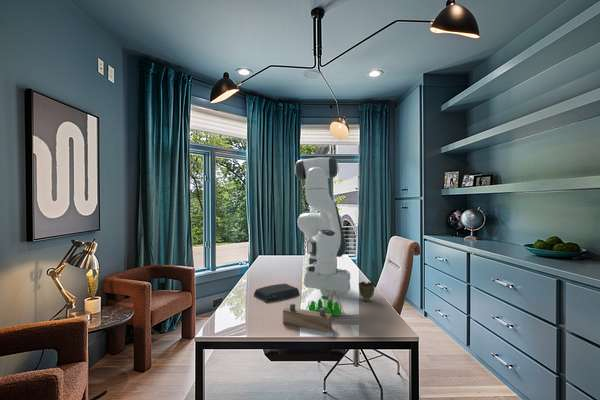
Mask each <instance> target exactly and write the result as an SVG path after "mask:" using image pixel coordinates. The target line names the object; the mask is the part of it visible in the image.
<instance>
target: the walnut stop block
mask: <svg viewBox="0 0 600 400" xmlns="http://www.w3.org/2000/svg"><path fill="white" fill-rule="evenodd" d="M325 312H326V311H325V309H324V308H321V309H320V312H315V311H309V309H307V310H306V309H304V308H303V309H302V308H297V307H296V304H295V303H289V306H287V307H285V308H284V309H283V310H282V323H283V324H285V325H289V326H295V327H300V328H305V329H308V330H309V329H310V330H315V331H319V332H325V333H329V332H330V331H331V330H332V329H333V315H332V313H331V314H327V313H325Z"/></svg>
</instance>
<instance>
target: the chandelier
mask: <svg viewBox="0 0 600 400" xmlns="http://www.w3.org/2000/svg"><path fill="white" fill-rule="evenodd" d="M323 299H324V300H323ZM325 299H327V297H326V296H322V295H321V298H319V299H318V301H317V302H316V301H314V300H310V301H309V302H308V303H307V306H306V308H305V310H309V311H315V312H320V309H321V308H324V309H325V313H327V314H332V316H333V317H334V316H335V317H336V316H337V317H339V316H341V314H342V305H341V303H339V302H337V301H336V302H334V303H333V300H332V299H330V300H327V303H326V306H324V304H325V301H326V300H325ZM339 305H340V306H339Z"/></svg>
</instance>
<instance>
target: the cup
mask: <svg viewBox="0 0 600 400" xmlns="http://www.w3.org/2000/svg"><path fill="white" fill-rule="evenodd" d="M375 286H376V284H375V283H374V282H372V281H368V282H367V283H366V281H360V282H358V289H359V295H360V296H361V297H362V300H363V301H364V302H370V301H371V300H372V299H371V298H372V297H373V296H374V294H375V289H376V288H375Z"/></svg>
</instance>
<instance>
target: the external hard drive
mask: <svg viewBox="0 0 600 400" xmlns="http://www.w3.org/2000/svg"><path fill="white" fill-rule="evenodd" d="M297 296H300V291H299V288H297V287H294V286H293V285H290V284H288V283H279V284H278V283H277V284H271V285H266V286H261V287H259V288H256V289H255V291H254V293H253V297H254V298H257V299H258V300H260V301H263V302H264V303H272V302H277V301H283V300H286V299H289V298H290V299H291V298H293V297H297Z"/></svg>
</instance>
